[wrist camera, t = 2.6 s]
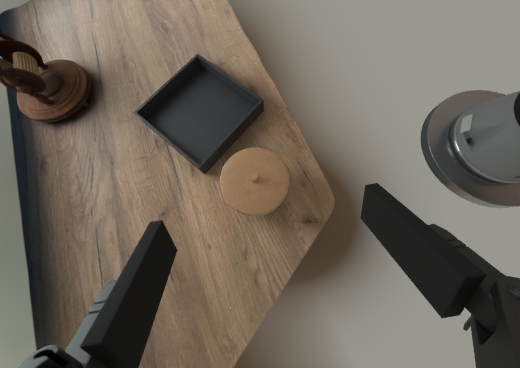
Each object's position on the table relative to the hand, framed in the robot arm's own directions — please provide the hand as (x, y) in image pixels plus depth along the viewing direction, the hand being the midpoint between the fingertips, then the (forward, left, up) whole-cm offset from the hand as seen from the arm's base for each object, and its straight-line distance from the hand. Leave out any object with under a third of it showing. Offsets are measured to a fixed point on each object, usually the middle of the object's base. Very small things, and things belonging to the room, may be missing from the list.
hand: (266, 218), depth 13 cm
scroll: (+53, +7, -24) cm, 59 cm away
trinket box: (+6, -4, -24) cm, 25 cm away
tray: (+25, -9, -24) cm, 36 cm away
